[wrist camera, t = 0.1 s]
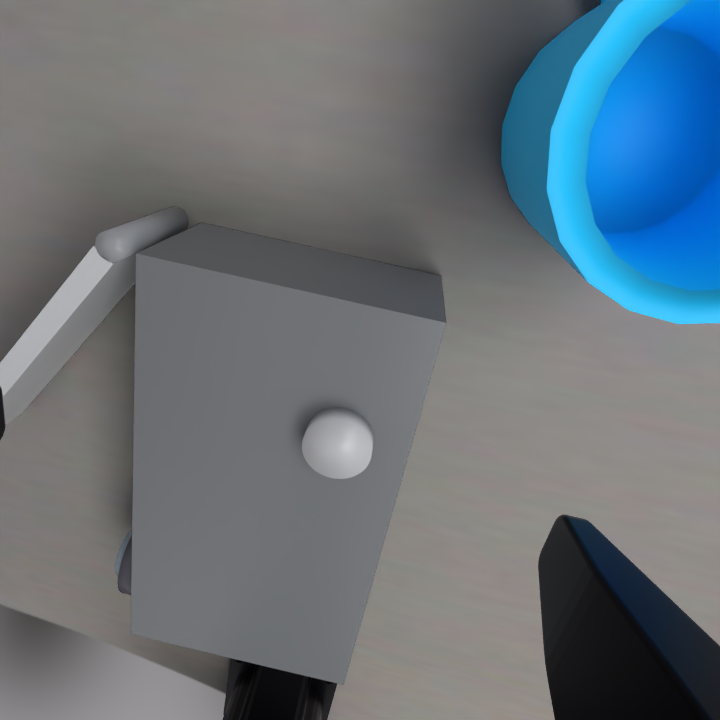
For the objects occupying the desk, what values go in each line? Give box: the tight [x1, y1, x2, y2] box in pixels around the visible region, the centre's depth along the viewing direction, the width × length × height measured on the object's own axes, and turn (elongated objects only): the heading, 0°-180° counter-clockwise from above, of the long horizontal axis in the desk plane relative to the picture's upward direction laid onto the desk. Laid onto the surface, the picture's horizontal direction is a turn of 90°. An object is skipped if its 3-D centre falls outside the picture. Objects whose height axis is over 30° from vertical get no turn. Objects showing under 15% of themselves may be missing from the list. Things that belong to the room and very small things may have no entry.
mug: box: [501, 0, 720, 324], centre depth 15 cm, size 12×8×8 cm
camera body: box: [115, 223, 446, 685], centre depth 23 cm, size 18×12×6 cm, turn 169°
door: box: [0, 207, 188, 426], centre depth 22 cm, size 14×1×5 cm, turn 134°
